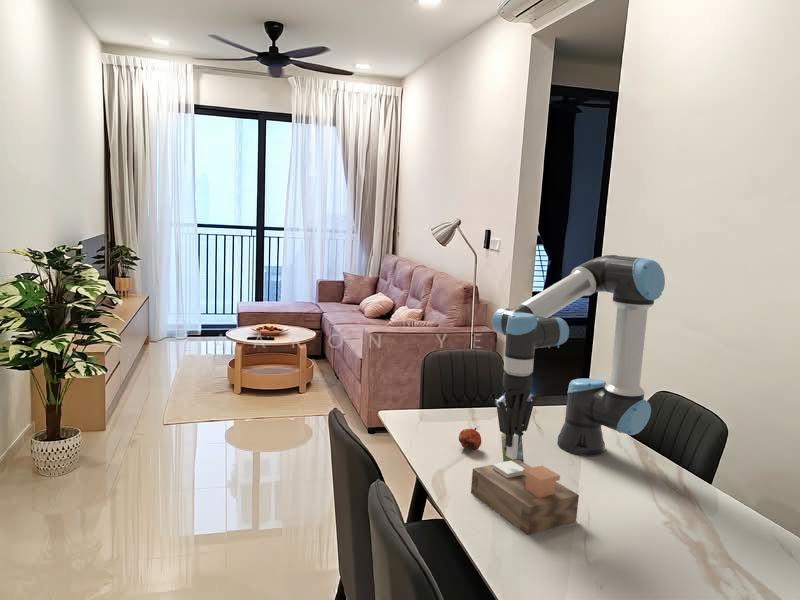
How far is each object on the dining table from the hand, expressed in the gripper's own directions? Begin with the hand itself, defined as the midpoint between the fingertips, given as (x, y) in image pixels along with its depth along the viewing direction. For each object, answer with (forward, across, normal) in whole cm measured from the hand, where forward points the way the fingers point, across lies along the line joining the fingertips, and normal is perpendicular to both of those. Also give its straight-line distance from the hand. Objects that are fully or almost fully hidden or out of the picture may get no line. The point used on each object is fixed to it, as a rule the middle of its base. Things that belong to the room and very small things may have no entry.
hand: (511, 457), depth 161 cm
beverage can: (+12, -12, -14) cm, 22 cm away
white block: (+11, +1, 0) cm, 11 cm away
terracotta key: (+7, +1, +12) cm, 14 cm away
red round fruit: (+12, -8, -30) cm, 33 cm away
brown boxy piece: (+11, +1, +6) cm, 13 cm away
